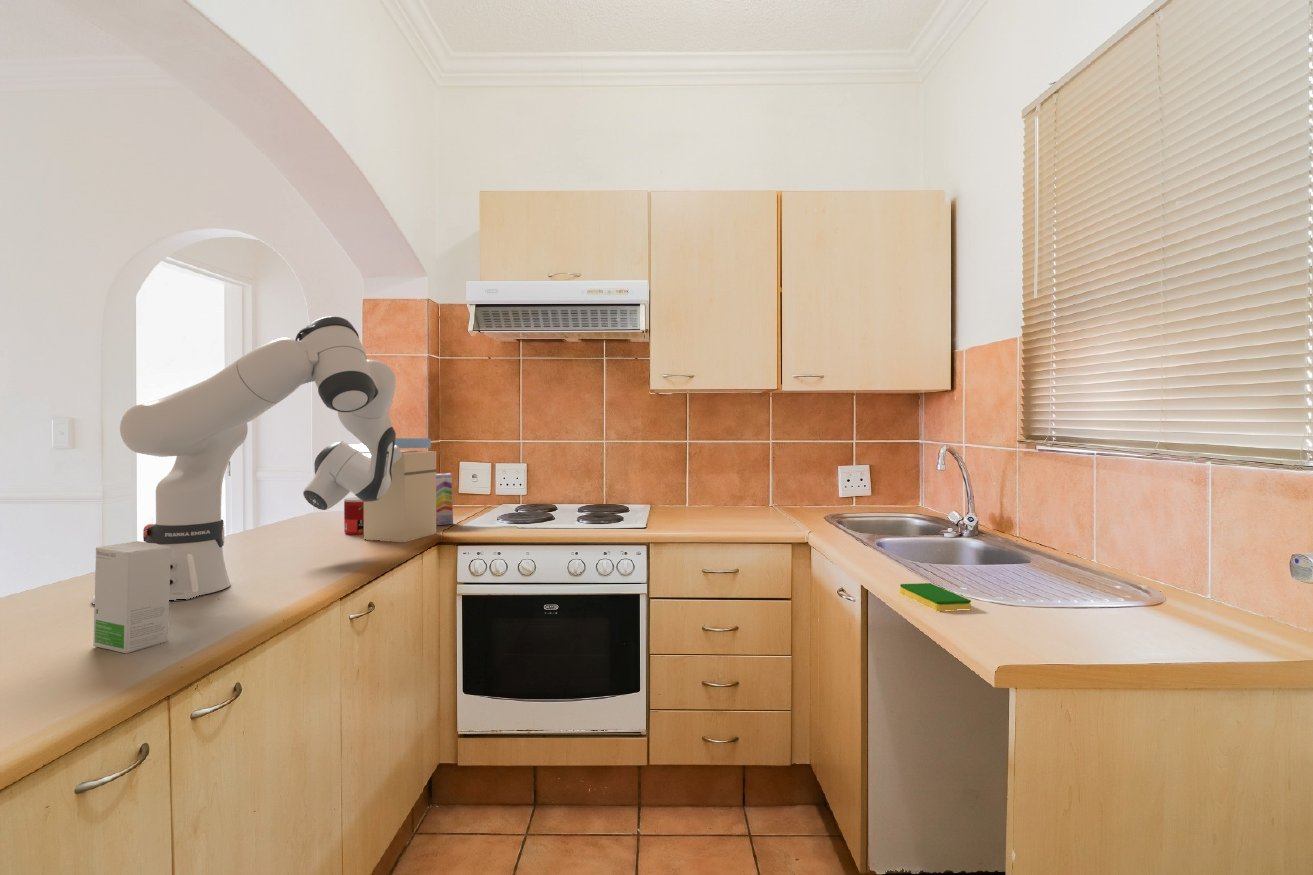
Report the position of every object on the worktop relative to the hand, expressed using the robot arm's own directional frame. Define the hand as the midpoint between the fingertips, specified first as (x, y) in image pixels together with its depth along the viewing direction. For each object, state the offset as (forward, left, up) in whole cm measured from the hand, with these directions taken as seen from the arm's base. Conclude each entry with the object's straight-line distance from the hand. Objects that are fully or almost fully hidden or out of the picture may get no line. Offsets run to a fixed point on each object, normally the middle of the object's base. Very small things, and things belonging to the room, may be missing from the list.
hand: (380, 441), depth 192 cm
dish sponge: (+87, -121, -30) cm, 152 cm away
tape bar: (+7, +7, -2) cm, 10 cm away
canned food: (-4, +20, -30) cm, 36 cm away
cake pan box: (+17, +26, -30) cm, 43 cm away
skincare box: (-46, -76, -30) cm, 94 cm away
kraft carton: (+7, +7, -30) cm, 31 cm away
